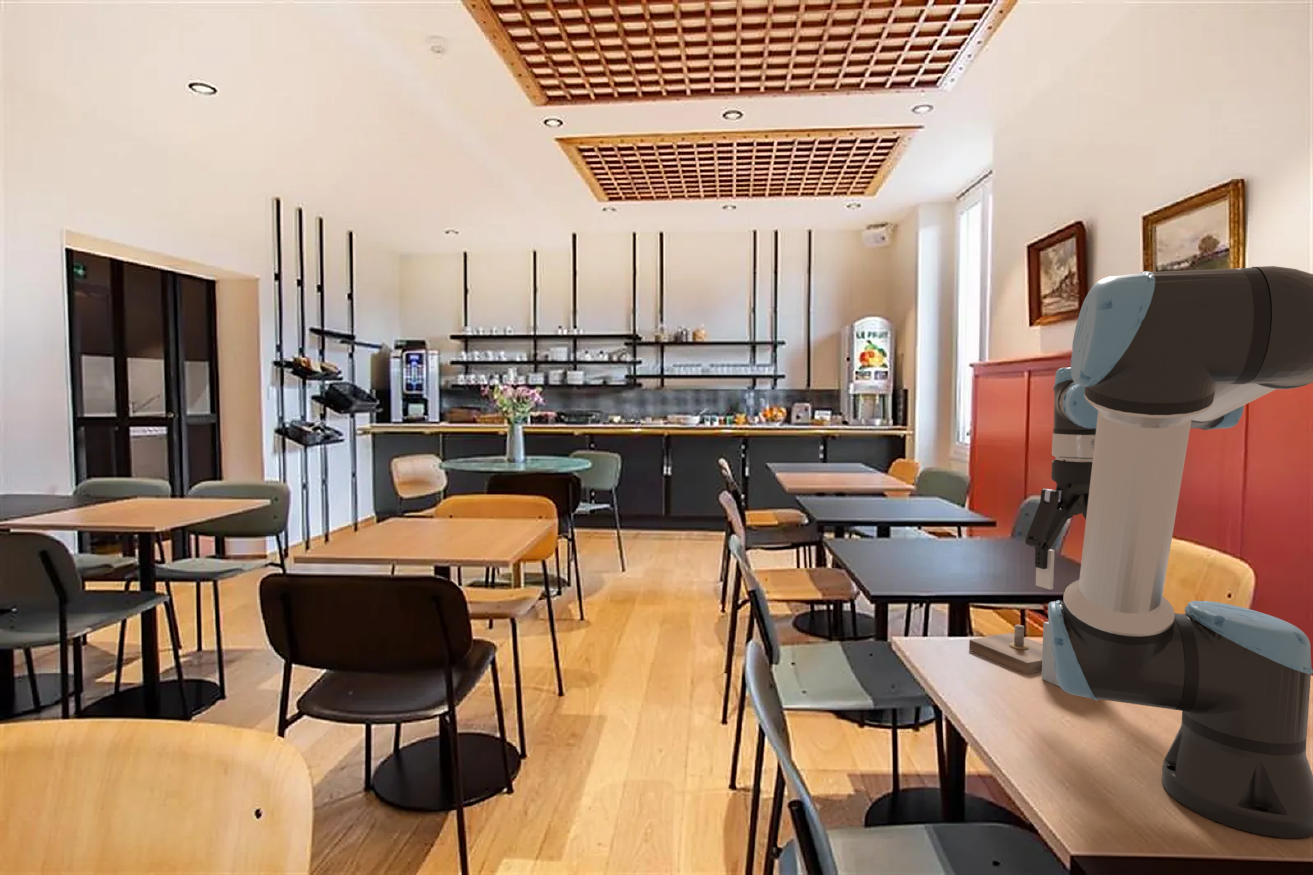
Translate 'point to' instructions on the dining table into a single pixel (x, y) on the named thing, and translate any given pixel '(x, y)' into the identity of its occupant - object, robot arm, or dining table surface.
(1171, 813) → the dining table surface
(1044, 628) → the light grey hollow box
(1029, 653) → the wooden peg base
